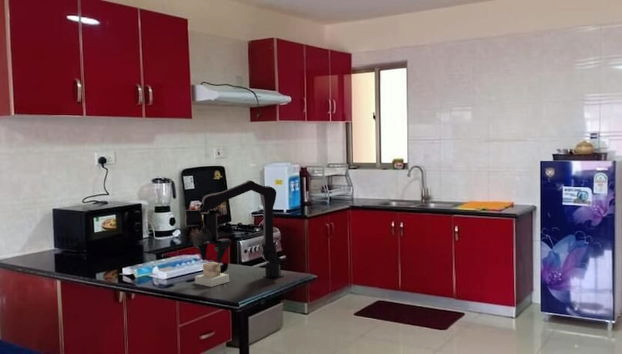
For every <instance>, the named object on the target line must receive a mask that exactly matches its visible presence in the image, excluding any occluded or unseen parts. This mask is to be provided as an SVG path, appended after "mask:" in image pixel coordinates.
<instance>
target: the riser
mask: <svg viewBox="0 0 622 354" xmlns="http://www.w3.org/2000/svg"><path fill="white" fill-rule="evenodd" d="M228 282H230V275H229V274H227V273H223V272H222V273H221V272H220V275H219V276H215V277H207V276H203V273H202V274H198V275H196V276H195V275H194V284H197V285H201V286H206V287H209V288H210V287H211V288H212V287H215V286H219V285H223V284H225V283H228Z"/></svg>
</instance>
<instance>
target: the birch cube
mask: <svg viewBox="0 0 622 354" xmlns="http://www.w3.org/2000/svg"><path fill="white" fill-rule="evenodd" d="M202 271H203V272H202V274H203V276H207V277H215V276H219V275H220V273H221V262H220V263H218V262H215V261H211V262H210V261H209V262H205V263H203V265H202Z"/></svg>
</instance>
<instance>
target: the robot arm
mask: <svg viewBox="0 0 622 354" xmlns="http://www.w3.org/2000/svg"><path fill="white" fill-rule="evenodd" d="M250 191H253V192H254V193H257V194H259V195H260V201H261V204H262V208H263V210H262V211H263V216H262V218H263V219H262V220H263V222H262V223H263V231H262V232H263V239H262V242H259V243H258V245H259V249H258V250H259V251H258V252H259V254H260V256H261V257H262V258H263V259H264V260H265V262H266V263H265V275H263V276H262V278H266V279H271V280H276V279H279V278H283V277H284V275H283V274H282V273H281V272H282V271H281V269H282V267H281V265H282V262H283V260H282V259H281V257H279V256H278V252H277V249H276V243H275V240H274V206H275V203H276V198H277V190H276V188H274V187H272V186H270V185H261V184H258V183H256V182H255V181H253V180H247V181H245V182H242V183H240V184H237V185H235V186H233V187H230V188H228V189H226V190H223V191H220V192H213V193H209V194H206V195H204V196H202V200H201V203H200V205H198V208H197V209H186V210H185V213H184V215H185V216H184V225H185V227H199V226H200V225H201V224H203V225H202V226H203V227H201V228H200V231H199V232H198V233H196V234H195V235H193V236H192V237H191V239H190V244H192V246H194V247H196V248H197V250H198V252H199V254H200V257H201V260H202V261H204V262H205V261H206V258H207V252H208V251H207V250H208V244H211V245H214V247H213V249H214V250H215V252H216V261H217V262H216V263H220V264H221V262H222V259H223V257H224V255H225V253H226V251H227V250H228V248H229V247H231V246H232V241H231V239H228V238H221V237H220V236H219V235H218V231H219V230H220V227H219V226H218V215H221V214H222V211H220V209H219V208H218V207H219V206H221V205H222V204H223V203H224V202H226V201H229V200H231V199H233V198H235V197H239V196H240V195H243V194H246V193H248V192H250Z"/></svg>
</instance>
